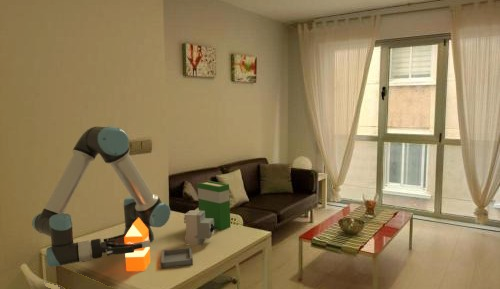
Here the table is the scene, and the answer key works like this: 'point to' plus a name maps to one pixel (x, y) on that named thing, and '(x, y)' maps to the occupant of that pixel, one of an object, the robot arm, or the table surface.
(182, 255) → the tray
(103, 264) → the table surface
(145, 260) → the juice carton
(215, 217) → the green box
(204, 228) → the circuit breaker
